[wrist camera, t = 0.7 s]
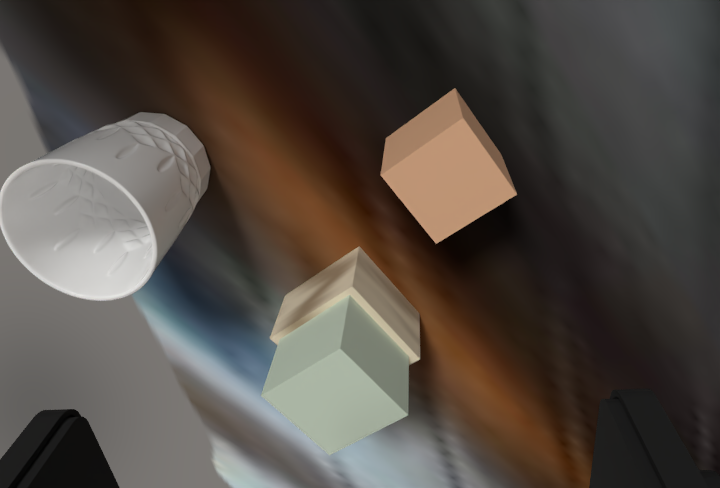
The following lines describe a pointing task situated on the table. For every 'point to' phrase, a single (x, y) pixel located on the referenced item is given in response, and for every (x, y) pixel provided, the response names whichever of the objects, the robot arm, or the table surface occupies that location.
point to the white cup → (105, 205)
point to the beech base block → (365, 288)
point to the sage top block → (339, 377)
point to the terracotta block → (446, 168)
